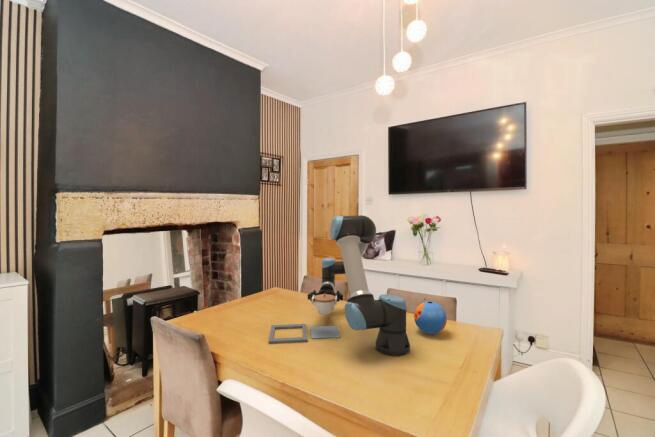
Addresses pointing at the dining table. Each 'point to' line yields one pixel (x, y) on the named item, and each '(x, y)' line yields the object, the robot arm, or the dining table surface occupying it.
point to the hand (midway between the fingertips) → (324, 302)
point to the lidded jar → (324, 303)
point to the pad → (324, 332)
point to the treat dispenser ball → (430, 317)
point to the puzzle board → (288, 340)
